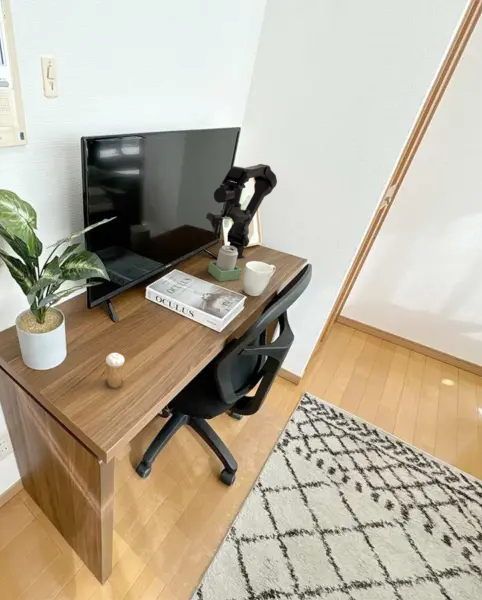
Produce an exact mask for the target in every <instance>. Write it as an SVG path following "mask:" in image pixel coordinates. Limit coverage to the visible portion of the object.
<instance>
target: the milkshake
mask: <svg viewBox="0 0 482 600" xmlns="http://www.w3.org/2000/svg"><path fill="white" fill-rule="evenodd" d="M125 363H126V359H125V356H123V355H122V354H121V353H118V352H111V353H109V354H108V355H106V358H105V366H106V376H107V377H106V379H107V384H108V386H109V387H110V388H115V389H116V388H118V387H120V385H121V383H122V376H123V370H124V366H125Z"/></svg>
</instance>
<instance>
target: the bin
mask: <svg viewBox="0 0 482 600" xmlns="http://www.w3.org/2000/svg"><path fill="white" fill-rule="evenodd" d="M216 263H217V260H216V261H209V264H208V269H207V272H208V273H209V274H210V275H211V276H212V277H214V278H215V279H216V280H217V281H218V282H227V281H234V280H235V281H237V280H240V275H241V272H242V268H240V267H238V266H237V265H236V264H235V267H234V270H229V271H221V270H220V269H219V268H218V267H216Z"/></svg>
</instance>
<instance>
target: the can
mask: <svg viewBox="0 0 482 600" xmlns="http://www.w3.org/2000/svg"><path fill="white" fill-rule="evenodd" d="M229 245H230V244H229ZM229 245H228V244H227V245H222V246H221V248H219V250H218V255H217V259H216V261H217V263H216V267H218V268H219V269H220V270H221V271H229V270H234V267H235V265H236V263H237V260H238V258H237V256H238V252H237V248H235V247H233V246H229Z"/></svg>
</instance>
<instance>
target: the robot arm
mask: <svg viewBox="0 0 482 600" xmlns="http://www.w3.org/2000/svg"><path fill="white" fill-rule="evenodd" d="M250 179H253V180H254V186H253V188H254V189H253V190H254V192H253V194H252V196H251V198H250V199H249V201H248V203H247V205H246V208H245V209H242V203H240V201H241V197H242V193H243V190H244V189H245V188H247V187H246V185H245V184H246V183H248V182H249V181H250ZM277 184H278V179H277V174H275V172H274V171H273V170H272V168H271V166H270V165H268V164H263V163H259V164H256V165H255V164H254V165H251V166H246V167H244V166H243V167H242V166H236V165H233V166H232V167H230V169H229V170H228V172H227V174H226V175H225V177H224V179H223V180H222V181H221V184H220V186H219V187H217V188H216V189H215V190H214V192H213V199H214V201H215V202H216V203H218V204H221V203H222V204H224V205H223V209H221V210H220V213H219V212H217V211H208V212H207V214H206V216H205V219H207V220H208V221H209V222H210V224H211V228H212V231H213V235H214V237H217V235H218V231H219V227H220V225H221V224H222V222H221V221H222V220H229V219H231V221H232V224H231V227H229V230H228V232H227V235H226V236H227V237H226V239H227V243H229V246H233V247H235V248H237V252H238V256H237V259H242V258H245V256H244V255H243V254H244V250H245V248H247V247H248V246H249V244H250V239H249V236H248V235H249V234H250V228H249V226H250V225H251V223H252V220H253V219H254V217H255V215H256V213H257V212H258V210H259V208H260V206H261V204H262V202H263V200H264V198H265V197H267V196H268V195H270V194H271V193H272V192H273V190H274V189H275V188H276V186H277Z"/></svg>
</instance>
